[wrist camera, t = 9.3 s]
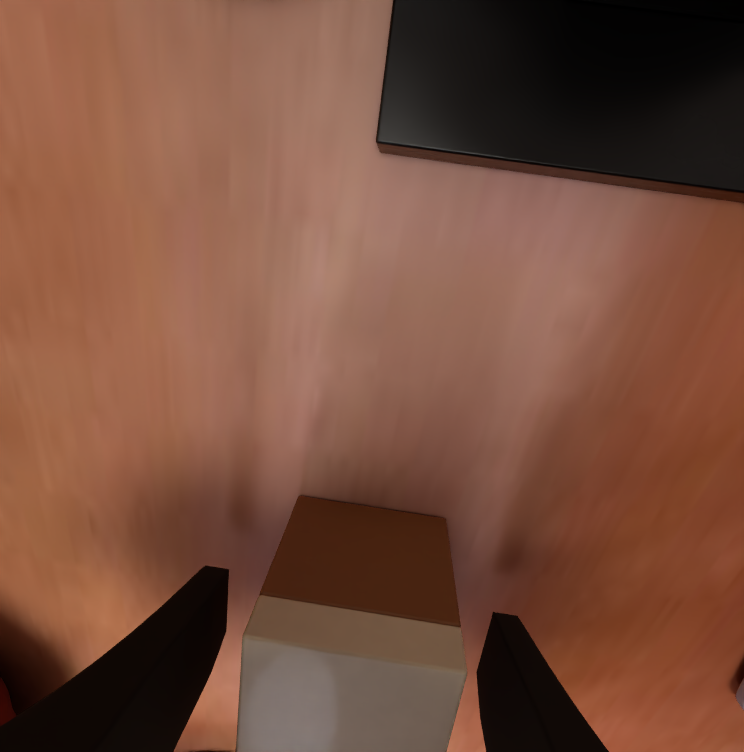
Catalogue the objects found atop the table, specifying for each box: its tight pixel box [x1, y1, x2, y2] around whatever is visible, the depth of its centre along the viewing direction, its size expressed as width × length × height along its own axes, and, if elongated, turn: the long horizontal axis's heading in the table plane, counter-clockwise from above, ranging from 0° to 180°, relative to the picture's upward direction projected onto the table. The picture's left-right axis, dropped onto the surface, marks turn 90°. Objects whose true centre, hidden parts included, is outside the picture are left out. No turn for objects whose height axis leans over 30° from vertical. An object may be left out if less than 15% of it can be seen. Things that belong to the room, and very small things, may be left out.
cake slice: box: [236, 496, 467, 752], centre depth 11 cm, size 4×5×4 cm
